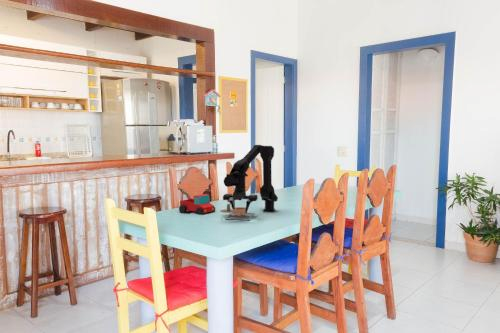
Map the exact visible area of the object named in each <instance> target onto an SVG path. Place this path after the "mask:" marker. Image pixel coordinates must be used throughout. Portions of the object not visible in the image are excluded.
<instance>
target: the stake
mask: <svg viewBox="0 0 500 333" xmlns="http://www.w3.org/2000/svg"><path fill="white" fill-rule="evenodd" d="M231 212H233V209H232V208H231V204H230V203H227V204H226V208H225V209H221V210H220V213H224V214H230V213H231Z"/></svg>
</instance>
